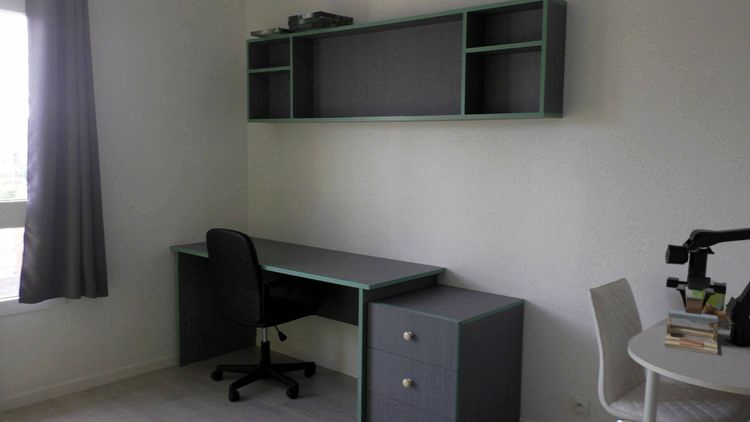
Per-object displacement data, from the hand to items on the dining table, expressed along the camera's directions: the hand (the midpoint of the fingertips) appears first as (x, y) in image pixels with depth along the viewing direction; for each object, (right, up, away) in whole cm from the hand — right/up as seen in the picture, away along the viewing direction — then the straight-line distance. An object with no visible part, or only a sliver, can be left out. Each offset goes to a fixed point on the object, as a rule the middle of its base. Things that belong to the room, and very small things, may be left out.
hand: (693, 309), depth 227 cm
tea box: (+19, -8, +28) cm, 34 cm away
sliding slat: (+4, -5, +10) cm, 12 cm away
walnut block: (0, -1, 0) cm, 1 cm away
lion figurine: (+17, -10, +16) cm, 26 cm away
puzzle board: (-1, -11, 0) cm, 11 cm away
